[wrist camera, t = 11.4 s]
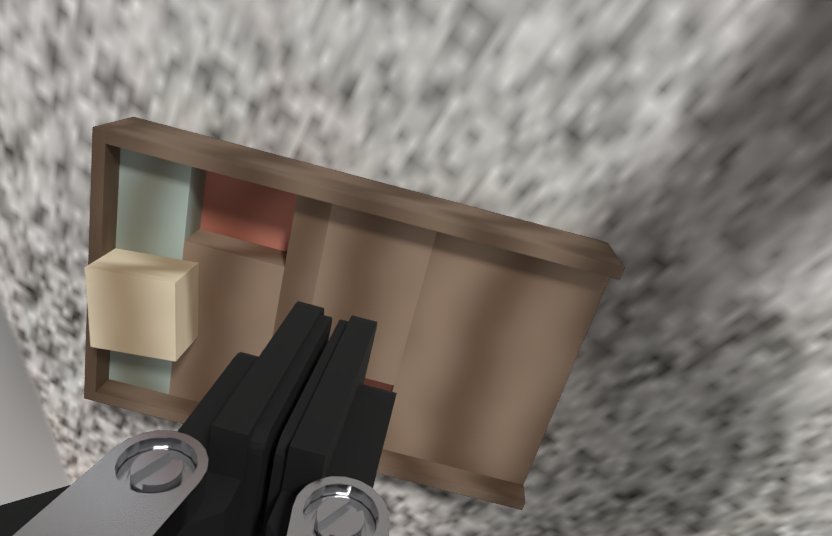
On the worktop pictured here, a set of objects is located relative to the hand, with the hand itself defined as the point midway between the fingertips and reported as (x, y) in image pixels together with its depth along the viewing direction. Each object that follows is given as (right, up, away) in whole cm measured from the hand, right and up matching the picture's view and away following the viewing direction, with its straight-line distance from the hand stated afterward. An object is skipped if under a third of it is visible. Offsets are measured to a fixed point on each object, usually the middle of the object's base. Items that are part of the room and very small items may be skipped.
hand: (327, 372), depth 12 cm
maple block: (-14, +1, +23) cm, 27 cm away
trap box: (-3, -1, +26) cm, 26 cm away
